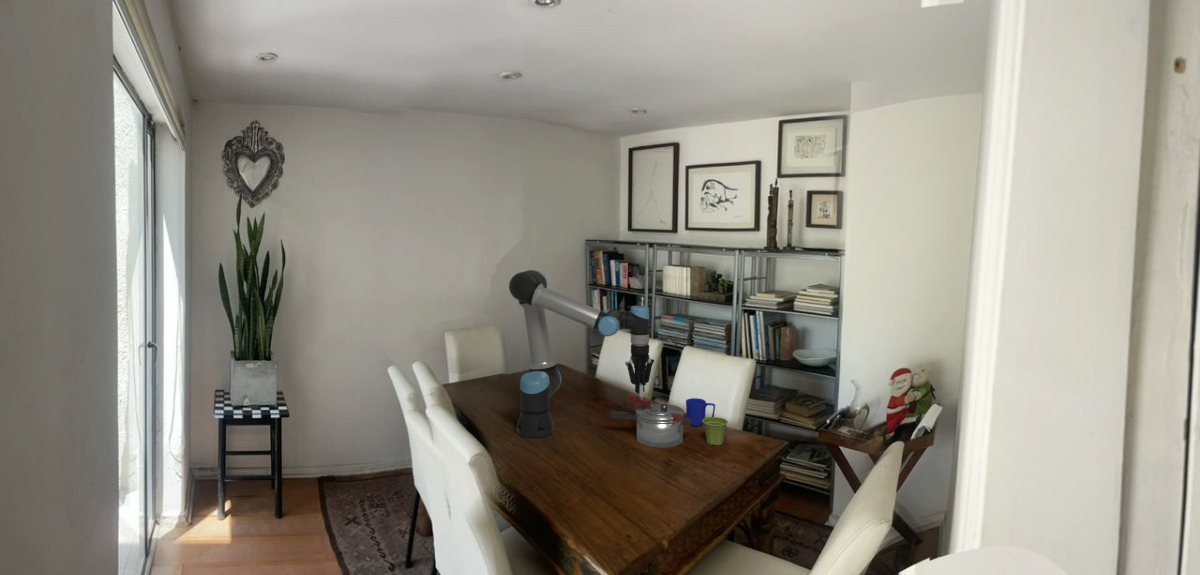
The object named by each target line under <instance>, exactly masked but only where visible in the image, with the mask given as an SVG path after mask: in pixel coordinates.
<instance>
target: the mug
mask: <svg viewBox="0 0 1200 575" xmlns="http://www.w3.org/2000/svg"><path fill="white" fill-rule="evenodd" d="M708 406H712V407H713V409H712V414H711V417H715V410H716V404H715V403H712V402H707V401H706V400H705V399H702V398H698V397H697V398H696V397H694V398H693V397H691V398H688V399H686V400H685V408H686V418H692V422H691V426H692V425H693V427H701V426H702V425H703V426H704V423H703V419H704V418H706V411H707V407H708Z"/></svg>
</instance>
